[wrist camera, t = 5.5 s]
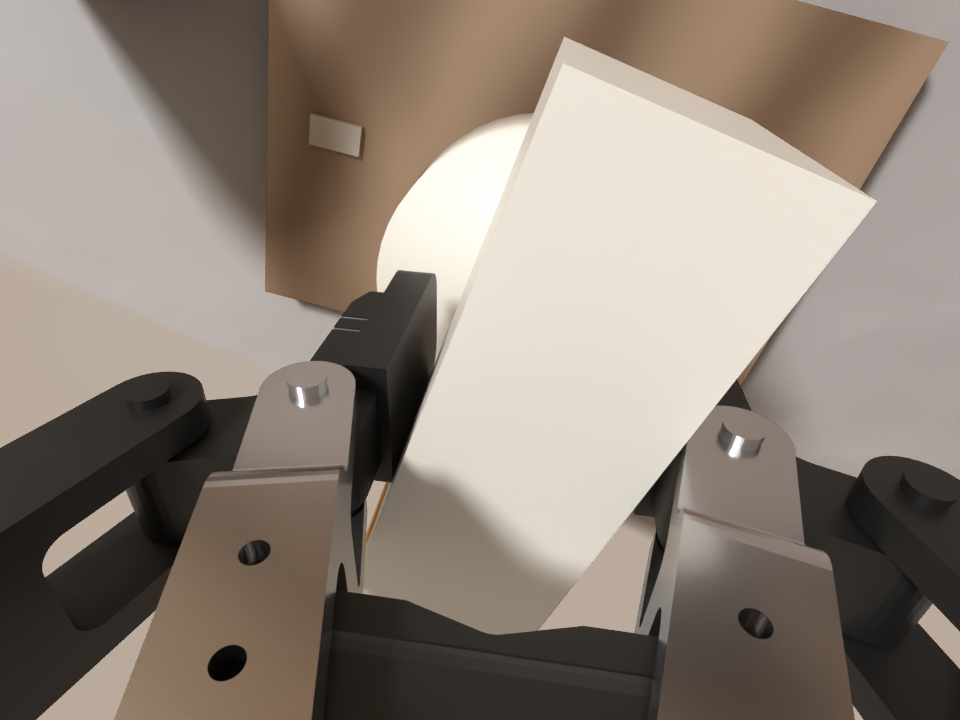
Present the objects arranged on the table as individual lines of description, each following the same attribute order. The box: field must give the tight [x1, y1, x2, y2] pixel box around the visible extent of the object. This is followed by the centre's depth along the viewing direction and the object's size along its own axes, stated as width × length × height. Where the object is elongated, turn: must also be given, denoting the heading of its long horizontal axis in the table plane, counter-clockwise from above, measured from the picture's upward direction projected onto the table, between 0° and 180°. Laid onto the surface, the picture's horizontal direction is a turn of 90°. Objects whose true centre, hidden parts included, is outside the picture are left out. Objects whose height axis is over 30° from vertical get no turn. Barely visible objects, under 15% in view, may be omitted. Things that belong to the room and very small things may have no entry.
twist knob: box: [363, 37, 877, 635], centre depth 11 cm, size 10×7×9 cm
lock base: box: [265, 0, 948, 386], centre depth 18 cm, size 20×14×8 cm
